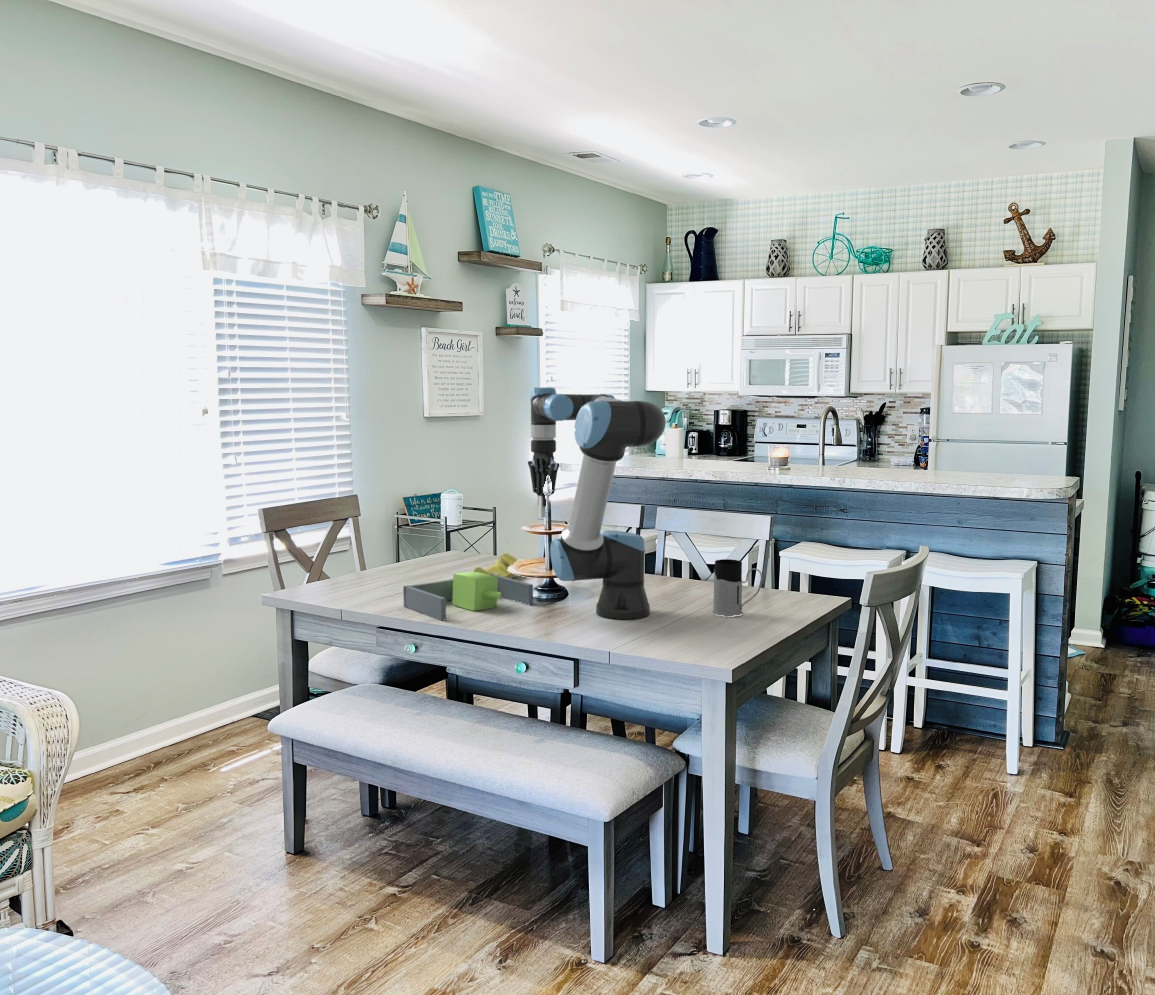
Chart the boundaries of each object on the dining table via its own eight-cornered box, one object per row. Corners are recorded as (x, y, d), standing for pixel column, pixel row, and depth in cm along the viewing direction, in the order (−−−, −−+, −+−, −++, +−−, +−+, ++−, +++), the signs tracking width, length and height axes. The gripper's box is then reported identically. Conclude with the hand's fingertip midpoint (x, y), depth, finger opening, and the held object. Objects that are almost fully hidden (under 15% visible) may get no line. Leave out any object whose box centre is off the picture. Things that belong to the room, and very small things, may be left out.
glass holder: (717, 609, 271) (718, 557, 269) (765, 614, 265) (767, 562, 263) (707, 615, 263) (708, 562, 262) (756, 621, 257) (757, 567, 255)
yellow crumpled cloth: (499, 579, 301) (474, 564, 304) (491, 598, 303) (466, 583, 306) (526, 564, 319) (502, 550, 322) (518, 582, 321) (495, 568, 324)
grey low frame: (532, 604, 276) (532, 584, 275) (441, 620, 256) (440, 598, 256) (492, 592, 292) (492, 573, 291) (403, 606, 272) (403, 586, 272)
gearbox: (511, 611, 270) (512, 578, 269) (483, 614, 263) (485, 581, 262) (473, 599, 283) (474, 568, 282) (446, 602, 276) (447, 571, 276)
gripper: (566, 439, 279) (566, 518, 282) (540, 437, 289) (540, 513, 292) (546, 440, 275) (546, 520, 277) (520, 438, 285) (520, 515, 287)
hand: (543, 516), depth 285 cm, fingers closed
